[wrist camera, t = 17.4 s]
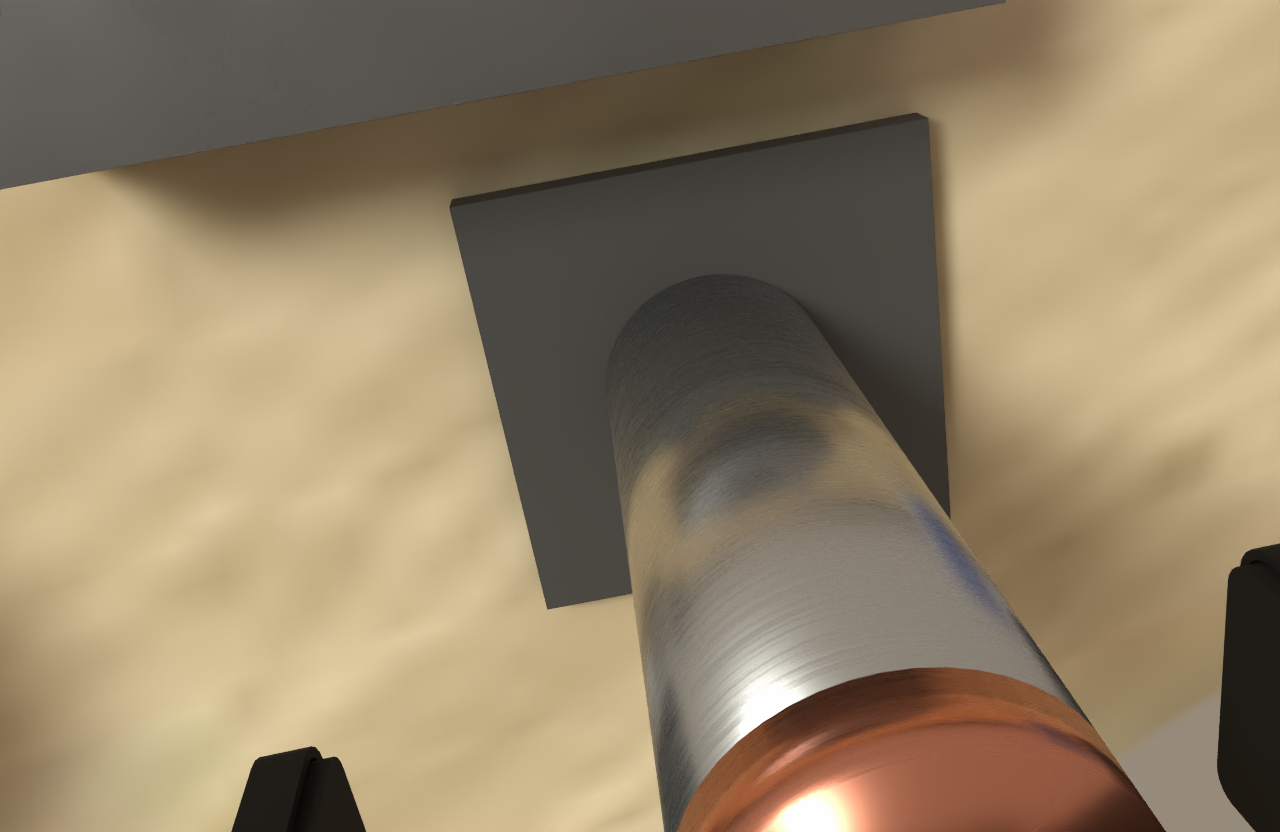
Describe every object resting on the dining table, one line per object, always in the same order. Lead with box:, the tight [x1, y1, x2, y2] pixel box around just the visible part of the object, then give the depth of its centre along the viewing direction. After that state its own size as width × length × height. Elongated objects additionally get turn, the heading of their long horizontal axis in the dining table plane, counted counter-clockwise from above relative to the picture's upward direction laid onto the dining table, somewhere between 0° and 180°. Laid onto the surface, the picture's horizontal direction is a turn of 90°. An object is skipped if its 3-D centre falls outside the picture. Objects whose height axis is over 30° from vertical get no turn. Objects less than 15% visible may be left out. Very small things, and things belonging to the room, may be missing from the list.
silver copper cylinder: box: [605, 274, 1166, 832], centre depth 14 cm, size 4×4×12 cm
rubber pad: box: [450, 113, 951, 610], centre depth 20 cm, size 8×8×1 cm
